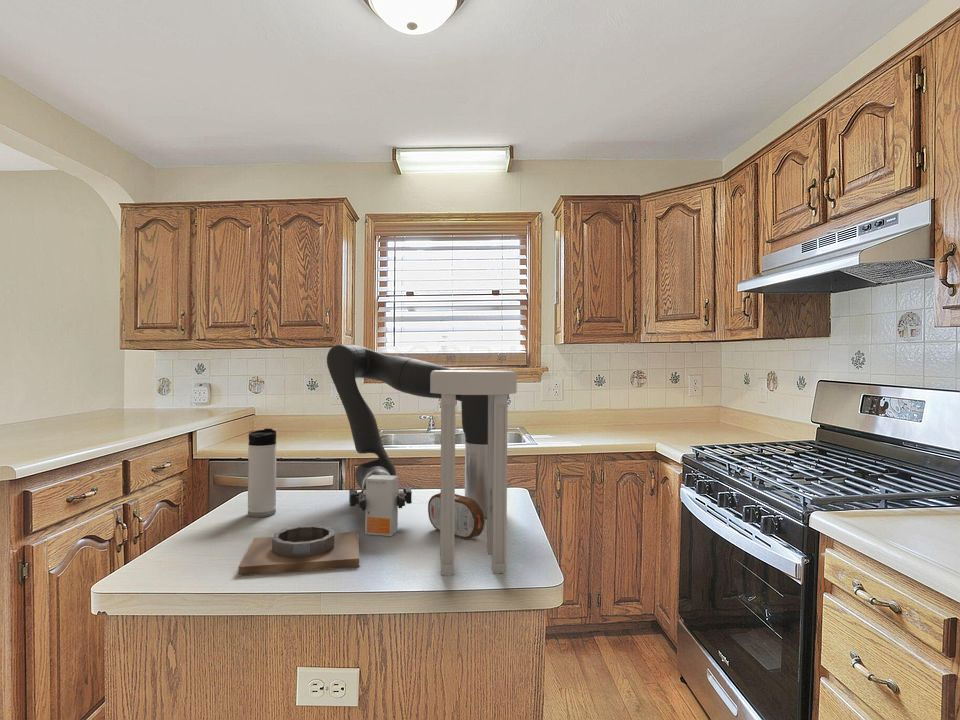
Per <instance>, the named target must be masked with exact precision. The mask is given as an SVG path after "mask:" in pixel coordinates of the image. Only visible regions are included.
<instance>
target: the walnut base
mask: <svg viewBox="0 0 960 720" xmlns="http://www.w3.org/2000/svg"><path fill="white" fill-rule="evenodd" d="M272 538H273V536H263V537H254V538H253V540H252V541H251V544H250V545H249V547H248V549H247V551H246V552H245V555H244V556H243V558H242V560H241V561H240V564H239V565H238V575H243V576H255V574H257V575H267V574H282V573H292V572H293V573H295V572H308V571H310V572H311V571H320V570H321V571H322V570H333V569H334V570H336V569H347V568H348V569H349V568H359V567H360V548H359V547H360V545H359V531H347V532H345V531H344V532H335V542H334V548H333V549H332V550H330V551H328V552H327V553H324V554H320V555H316V556H312V557H304V558H287V557H279V556H277V555H275V554H274V553H272ZM307 541H313V540H299V541H295V542H307Z"/></svg>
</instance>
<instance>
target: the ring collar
mask: <svg viewBox="0 0 960 720" xmlns="http://www.w3.org/2000/svg"><path fill="white" fill-rule="evenodd" d="M335 533H336V531H335V530H334V529H333V528H330V527H329V526H325V525H324V526H322V525H314V524H313V525H297V526H294V527H293V526H292V527H288V528H284V529H281V530H279V531H277V532H275V533H273V535H272V537H273V538H272V553H274V554H275V555H277V556H279V557H287V558H304V557H312V556H316V555H320V554H324V553H327V552H328V551H330V550H332V549H333V548H334V542H335ZM299 540H313V541H307V542H295V541H299Z"/></svg>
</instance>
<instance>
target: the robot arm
mask: <svg viewBox="0 0 960 720" xmlns="http://www.w3.org/2000/svg"><path fill="white" fill-rule="evenodd" d="M326 365H327V366H326V367H327V369H328V372H329V374H330V378H331V380H332V381H333V384H334V386H335V389H336V392H337V393H338V395H339V396H338V397H339V399H340V401H341V403H342V406H343V408H344V411H345V414H346V416H347V417H346V418H347V420H348V423H349V427H350V430H351V431H350V432H351V435H352V440H353V443H354V444H353V445H354V448H355V451H356V452H357V453H358V454H360V455H361V454H374V455H376V456H377V458H378V459H375V460H371V461H367V462H363V463H361V464H359V465H358V466H357V467H356V469H355V472H354V478H355V481H356V484H357V485H358V487H359V488H360V489H361V491H358V490H357V489H355V488H350V489H348V490H349V491H348V501H349V507H352V508H353V507H355V506H357V505H358V508H359V509H361V510H362V511H365V510H366V478H368V477H369V476H371V475H390V476H397V470H396V468H395V464H394V463H393V461H392V460H391V458H390V457H389V455H388V454H387V451H386V449H385V446H384V445H383V442H382V438H381V435H380V431H379V428H378V427H379V426H378V423H377V420H376V418H375V415H374V413H373V411H372V409H371V408H370V407H369V405H368V403H367V402H366V401H365V399H364V398H363V396H362V394H361V391H360V390H359V387H358V385H357V381H356V379H357V378H360V379H361V378H362V379H371V380H377V381H379V382H380V381H381V382H383V383H385V384H387V385H388V386H390V387H391V388H393V389H394V390H396V391H399V392H400V393H404V394H409V395H413V396H416V397H421V398H422V397H423V398H430V399H441V394H437V393H430V375H431V372H432V371H434V370H453V369H451V368H448V367H445V366H442V365H439V364H435V363H432V362H429V361H425V360H422V359H421V360H420V359H416V358H412V357H407V356H400V355H390V354H388V355H387V354H384V353H381V352H378V351H375V350H373V349H370V348H367V347H365V346H362V345H359V344H358V345H357V344H335V345H334V346H332V347H330V349H329V350H328V352H327V355H326ZM509 397H510V394H508V400H509ZM456 401H458V402H461V403H460V404H461V407H460V408H461V426H462V431H463V433H464V437H465V438H464V442H465V445H464V496H465V497H469V498H472V499H474V500H475V501H476V502H477V503H478V504H479V506H480V507H481V509H482V511H483V514H484V518H487V475H488V395H456ZM412 493H413V491H412V488H411V486H409V485H408V486H407V485H406V486H405V487H403V489H399V488H398V509H402V508H403V507H404V506H406V504H408V505H410V504H412V501H413V499H412Z"/></svg>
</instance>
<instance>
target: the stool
mask: <svg viewBox="0 0 960 720" xmlns="http://www.w3.org/2000/svg"><path fill="white" fill-rule="evenodd" d="M517 377H518V376H517V372H515V371H512V370H490V369H487V370H486V369H484V370H481V369H480V370H478V369H476V370H475V369H474V370H473V369H452V370H434V371H432V372H431V375H430V393H437V394H441V400H440V401H441V403H440V404H441V405H440V406H441V407H440V417H441V418H440V493H441V498H440V531H439V534H440V535H439V538H440V539H439V557H440V556H441V557H440V576H454V575H455V536H454V523H455V494H456V489H455V488H456V401H457V400H456V395H488V475H487V517H486V525H487V526H486V554H487V553H488V554H487V556H488V555H490V556H491V571H493V572H492V574H493V575H500V574H499V573H506V574H507V538H508V537H507V532H508V531H507V530H508V529H507V528H508V527H507V519H508V518H507V516H508V515H507V514H508V512H507V511H508V507H507V506H508V404H509V403H508V402H509V399H508V394H509V395H512V394H517V381H518V380H517Z"/></svg>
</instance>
